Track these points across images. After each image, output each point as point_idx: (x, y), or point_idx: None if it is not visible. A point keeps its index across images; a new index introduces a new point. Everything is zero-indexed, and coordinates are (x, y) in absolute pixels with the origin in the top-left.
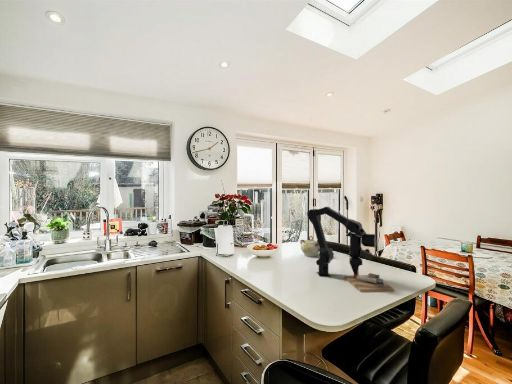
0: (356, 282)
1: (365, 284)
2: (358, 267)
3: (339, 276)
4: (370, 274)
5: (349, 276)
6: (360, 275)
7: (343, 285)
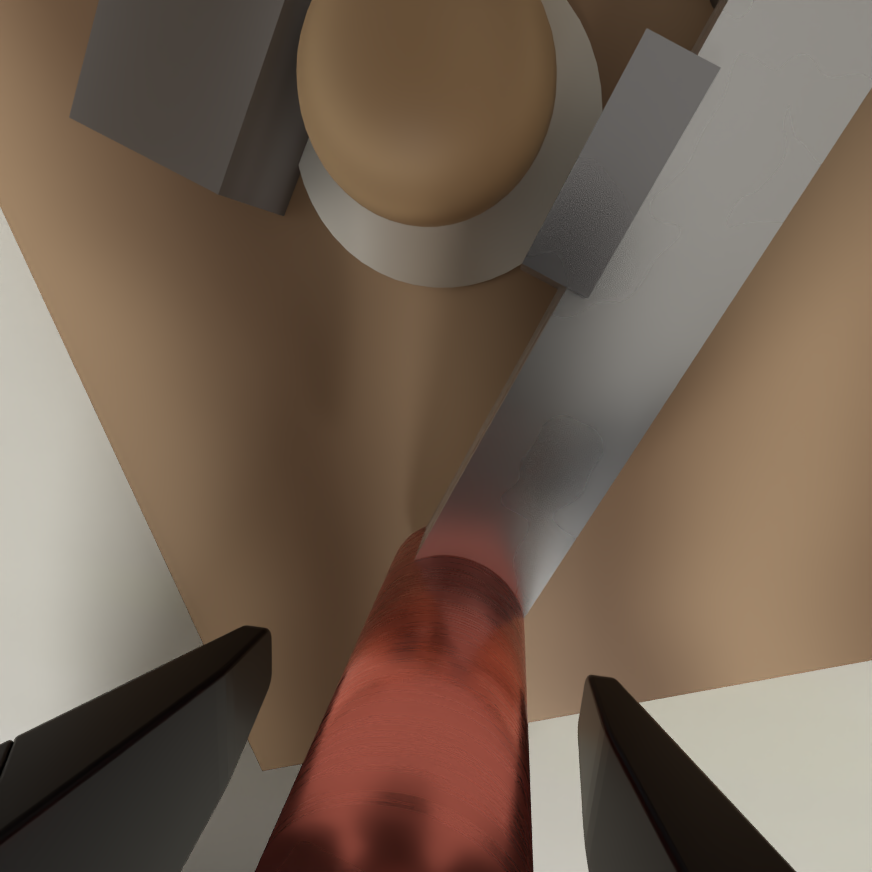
0: (705, 587)
1: (845, 379)
2: (452, 808)
3: (235, 799)
4: (454, 123)
5: (286, 672)
6: (457, 499)
7: (779, 819)
